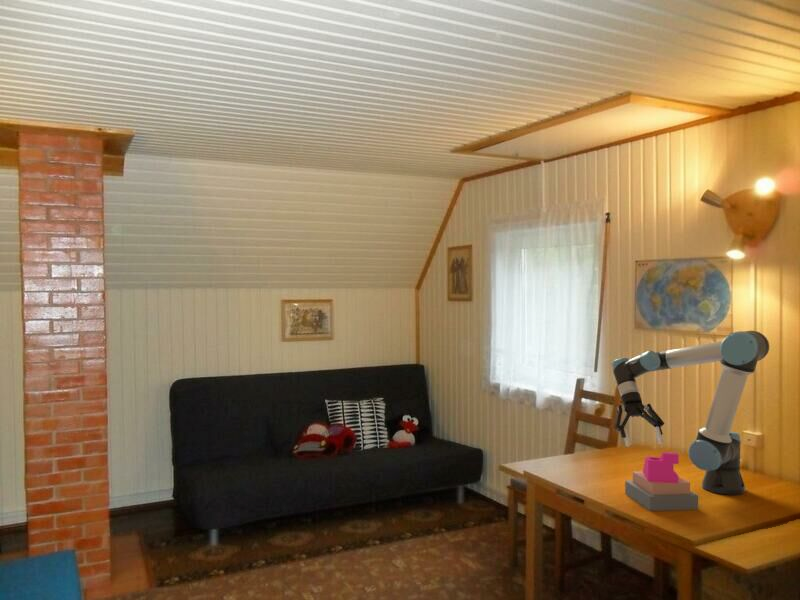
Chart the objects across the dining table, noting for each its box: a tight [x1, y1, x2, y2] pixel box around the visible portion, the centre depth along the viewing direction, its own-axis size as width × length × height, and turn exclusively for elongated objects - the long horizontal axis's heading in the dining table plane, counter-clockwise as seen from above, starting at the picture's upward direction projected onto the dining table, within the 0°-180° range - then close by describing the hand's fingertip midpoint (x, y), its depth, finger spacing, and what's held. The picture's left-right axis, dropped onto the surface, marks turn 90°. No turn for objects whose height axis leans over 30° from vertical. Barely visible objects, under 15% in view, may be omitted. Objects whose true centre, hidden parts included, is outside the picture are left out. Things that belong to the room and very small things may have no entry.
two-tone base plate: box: [624, 470, 699, 512], centre depth 246 cm, size 18×20×9 cm
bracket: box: [642, 451, 680, 483], centre depth 245 cm, size 12×10×10 cm
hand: (644, 444), depth 261 cm, fingers open, 13 cm apart
